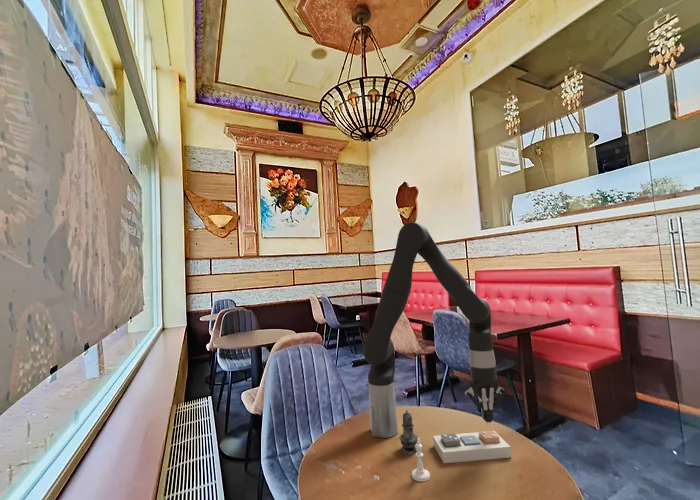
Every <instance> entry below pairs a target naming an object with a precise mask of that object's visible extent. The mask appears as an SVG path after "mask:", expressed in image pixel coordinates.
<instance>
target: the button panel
mask: <svg viewBox="0 0 700 500" xmlns="http://www.w3.org/2000/svg"><path fill="white" fill-rule="evenodd" d="M492 431H493V432H494V433H495V434H497V435H498V436H499V439H500V443H494V444H484V443H483V442H482V440H481V439H480V438H479V432H480V431H478V432H466V433H454V434H455V435H456V436H457V437H458V439H459V440H460V437H461V436H473V435H474V436H475V437H476V438H477V439H478V441H479V442H480V445H470V446H465V445H464V444H463V442H462V441H461V440H460V446H458V447H447V448H445V446H444V445H443V443H442V442H441V435H442V434H440V435H433V436H432V441H433V448H434V449H435V451H436V453H437V454H438V456H439V458H440V459H441V461H442V463H443V464H450V463H462V462H463V463H464V462H472V461H473V462H475V461H484V460H496V459H497V460H498V459H507V458H508V459H509V458H512V450H511V445H510V444H509V443H508V442H506V441H505V440H504V439H503V438H502V436H500V435H499V434H498V433H497V432H496V431H495V430H492Z"/></svg>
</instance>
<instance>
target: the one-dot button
mask: <svg viewBox="0 0 700 500" xmlns="http://www.w3.org/2000/svg"><path fill="white" fill-rule="evenodd" d="M460 440H461V441H462V442H463V444H464V445H465V446H470V445H480V442H479V441H478V439H477V438H476V437H475V436H474V435H473V436H461V437H460Z"/></svg>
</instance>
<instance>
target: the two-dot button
mask: <svg viewBox="0 0 700 500" xmlns="http://www.w3.org/2000/svg"><path fill="white" fill-rule="evenodd" d="M493 431H494V430H485V431H484V430H483V431H478V432H479V438H480V439H481V440H482V442H483V443H484V444H494V443H500V439H499V436H500V435H499V434H498V433H497V434H498V435H499V436H498V435H497V434H495V433H494V432H493Z"/></svg>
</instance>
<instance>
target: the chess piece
mask: <svg viewBox="0 0 700 500" xmlns="http://www.w3.org/2000/svg"><path fill="white" fill-rule="evenodd" d="M415 447H416V450H417V453H414V454H415V456H416V457H417V467H416V468H415V469H413V470H412V472H411V479H413V480H414V481H416V482H428V481H429V480H430V479H431V473H430V471H429V470H427V469H424V465H423V460H422V457H424V453H423V452H422V451H423V444H421V439H420V437H418V438H417V444H416V445H415Z"/></svg>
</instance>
